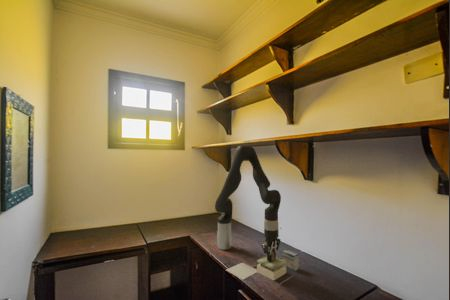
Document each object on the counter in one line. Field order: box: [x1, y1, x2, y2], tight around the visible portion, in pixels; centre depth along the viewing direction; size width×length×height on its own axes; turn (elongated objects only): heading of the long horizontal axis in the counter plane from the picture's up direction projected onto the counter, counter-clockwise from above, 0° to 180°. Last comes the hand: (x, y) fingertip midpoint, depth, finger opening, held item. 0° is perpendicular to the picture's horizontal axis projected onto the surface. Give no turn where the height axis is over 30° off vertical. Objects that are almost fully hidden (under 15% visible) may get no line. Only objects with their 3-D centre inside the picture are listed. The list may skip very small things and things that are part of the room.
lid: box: [256, 251, 286, 270], centre depth 124 cm, size 11×11×6 cm
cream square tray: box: [256, 263, 287, 281], centre depth 124 cm, size 11×11×4 cm
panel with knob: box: [225, 262, 257, 281], centre depth 126 cm, size 13×13×1 cm
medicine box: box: [281, 249, 299, 272], centre depth 130 cm, size 8×4×9 cm, turn 45°
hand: (271, 259), depth 124 cm, fingers closed on lid, 3 cm apart
